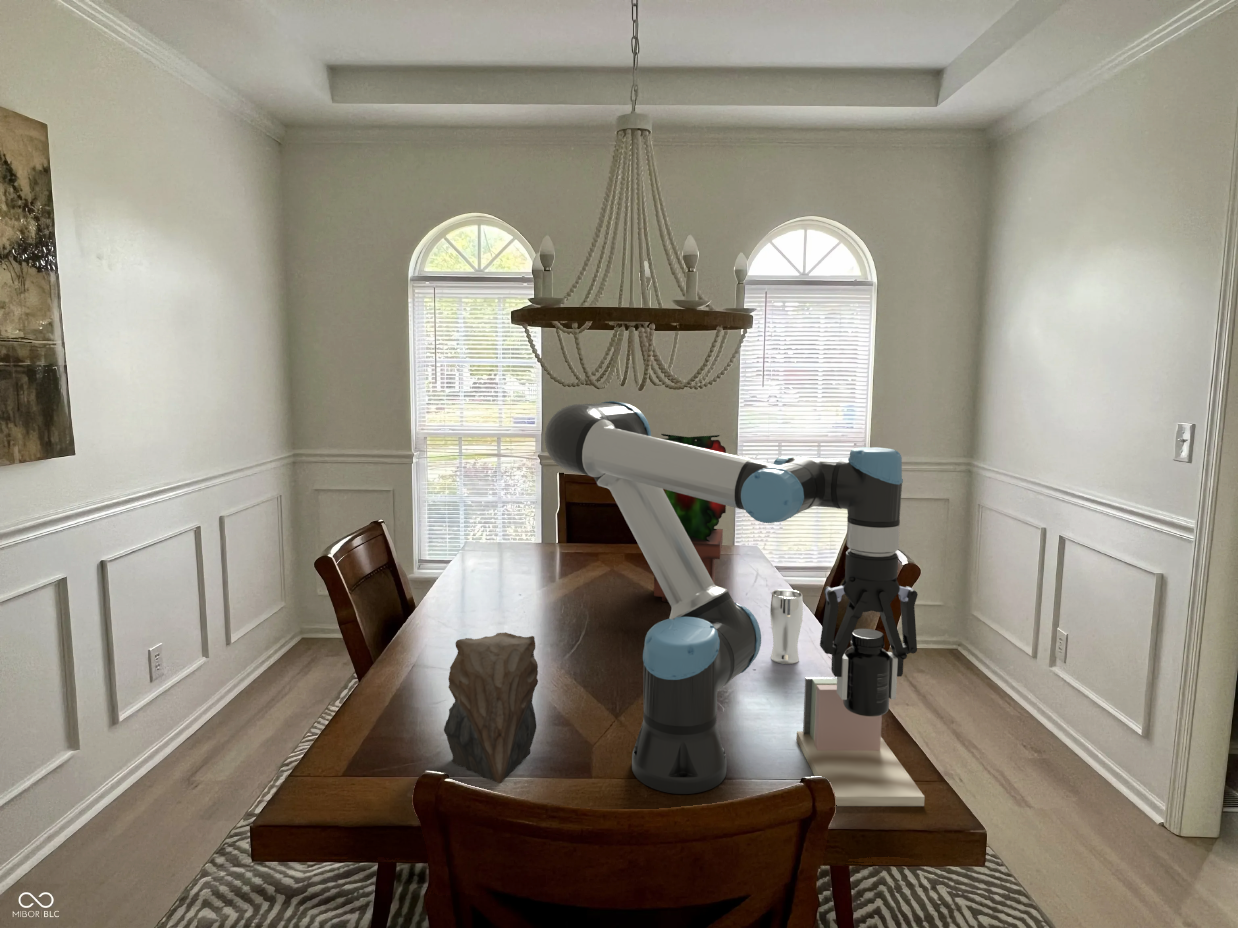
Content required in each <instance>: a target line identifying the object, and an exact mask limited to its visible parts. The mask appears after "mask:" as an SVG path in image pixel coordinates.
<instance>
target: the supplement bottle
mask: <svg viewBox="0 0 1238 928" xmlns="http://www.w3.org/2000/svg"><path fill="white" fill-rule="evenodd" d="M884 648H885V634H884V633H883V632H881V631H879V630H876V629H871V628H855V629H854V631H853V634H852V636H851V638H850V646H849V647H847V648H846V650H845V653H844V654H845V655H846V657H847V658H848V681H847V700H843V704H844V706H845V707H846V709H847V710H849V711H850V712H852V713H855V714H858V715H862V716H880V715H882V716H883V715H885V714H887V712H888V711H889V709H890V698H889V694H890V656H889V654H888V653H887V652H888V651H886V649H884Z"/></svg>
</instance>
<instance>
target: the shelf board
mask: <svg viewBox="0 0 1238 928" xmlns="http://www.w3.org/2000/svg"><path fill="white" fill-rule="evenodd" d="M796 742H797V744H798V746H799V747H800V749H801V752H802V754H803V755H804V757H805V759H806V762H807V764H808V766H809V768H810V770H811V772H812V773H813V776H814V777H815V776H822V777H825V778H827V779H828V780H829V782H831V784H832V787H833V790H834V792H835V796H836V805H837V806H836V807H925V800H926V799H925V797H926V796H925V794H923V793H922V790H920V788H919V787H918V785H917V784H916V782H915V781H914V780H913V779H912V777H911V775H910V774H909V773H908V772H907V771H906V769H905V767H904V766H903V765H902V763H901V762H900V761H899V760H898V758H897V757H896V756H895V754H894V753H893V751H892V750H891V749H890V747H889V746H888V745H887V743H886V742H885V740H884V738H883V737H882V736H881V743H880V750H817V749H816V747H815V745H814V742H815V741H814V740H813V739H812V737H811V736H810V735H804V733H803V730H802V731H800V730H799V731H796Z"/></svg>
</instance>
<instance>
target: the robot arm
mask: <svg viewBox="0 0 1238 928" xmlns="http://www.w3.org/2000/svg"><path fill="white" fill-rule="evenodd" d="M544 431H545V432H544V444H545V445H544V446H545V449H546V451H547V454H548V456H549V457H550V459H551V460H552V462H554V463H555V464H556V465H557V466H558V467H560V468H561V469H564V470H566V471H569V472H572V473H576V474H577V473H578V474H580V475H584V476H588V477H592V478H593V479H594V481H595V482H596V485H597V486H598V487H602V488H604V489H605V488H606V489H608V490H609V491H610V493H611V495H612V497H613V498H614V500H615V503H616V505H617V506H618V508H619V510H620V512H621V514H622V516H623V518H624V520H625V522H626V524H627V526H628V527H629V529H630V531H631V533H632V535H633V537H634V539H635V540H636V542H637V545H638V547H639V549H640V550H641V552H642V554H643V556H644V558H645V560H646V561H647V564H648V566H649V567H650V569H651V572H653V576H654V575H655V577H656V579H657V581H658V583H659V584H660V586H661V588H662V590H663V592H664V594H665V596H666V598H667V600H668V603H669V606H670V607H671V608H670V609H671V611H670V615H669V618H667V619H663V620H662V621H658V622H657V623H655V624H654V625H653V626H652V627H650V628H649V630H648V631H647V632H646V635H645V637H644V647H643V651H642V661H643V721H642V723H641V726H640V729H639V732H638V735H637V738H636V742H635V745H634V746H633V747H634V748H633V750H632V753H631V770H632V772H633V775H634V776H635V778H636V779H637V780H638V781H639V782H640V783H642V784H643V785H645V786H647V787H648V788H651V789H653V790H657V791H659V792H662V793H668V794H676V795H689V794H690V795H691V794H697V793H703V792H706V791H710V790H712V789H713V788H716V787H717V786H718V785H720V784H722V782H723V781H724V780H725V777H726V776H727V767H728V766H727V765H728V764H727V762H728V761H727V760H728V759H727V754H726V752H725V749H724V748H723V745H722V740H721V736H720V732H719V729H718V726H717V718H718V717H717V715H718V714H717V713H718V712H717V711H718V692H719V690H721V688H723V687H724V686H726V685H727V684H728V683H729V682H730V681H732V680H733V679H735V677H737V676H738V675H740V674H743V673H744V672H746V670H747V669H748V668H749V667H750V666H751V664H752V663H753V662H754V661H755V660H756V658H757V657H758V655H759V653H760V650H761V645H762V630H761V627H760V624H759V622H758V619H757V618H756V616H755V615H754V614H753V613H752V611H751V610H750V609H749V608H747V607H746V606H743V605H741V604H740V603H738V602H735V600H734V599H733V597H732V596H731V593H730V592H729V591H728V589H727V588H724V587H720V586H718V585H716V584H715V582H714V583H713V581H712V579H711V577H710V575H709V573H708V572H707V570H706V568H705V566H704V564H703V562H702V560H701V559H700V557H699V555H698V553H697V551H696V549H695V548H694V546H693V544H692V542H691V540H690V538H689V537H688V535H687V533H686V531H685V529H684V527H683V525H682V524H681V522H680V520H679V518H678V516H677V514H676V513H675V511H674V509H673V507H672V505H671V503H670V501H669V500H668V498H667V496H666V494H665V492H664V490H663V489H666V490H670V491H673V492H677V493H681V494H685V495H689V496H693V497H696V498H700V499H704V500H708V501H712V502H715V503H719V504H723V505H726V507H730V508H735V509H739V510H742V511H745V512H746V514H748V515H749V517H751V518H752V519H753V520H755V521H757V522H760V523H763V524H773V523H781V522H784V521H787V520H788V519H791V518H793V517H794V516H796V515H798V514H799V513H802V512H805V511H807V510H809V509H812V508H813V507H816V508H817V507H819V508H832V509H838V510H839V509H840V510H843V509H845V510H847V518H846V520H847V523H846V525H847V526H846V527H847V528H846V546H847V548H848V549H847V551H846V552H845V573H844V580H843V582H842V584H841V585H839V586H835V587H831V586H826V587H824V589H823V592H824V593H823V594H824V597H825V607H824V614H823V621H822V627H821V635H820V641H819V646H820V648H821V649H822V650H823V652H824V653H825V654H827V655H831V673H832V674H833V677H837V693H838V695H839V696H840V698H841V699H842V700H847V681H848V658H847V657H846V655H845V654H844V653H845V651H846V650H847V649H848V645H849V643H850V642H851V636H852V634H853V631H854V630H856V626H857V623H858V621H859V619H861V617H862V615H863V613H869V612H876V613H879V615H880V618H881V622H882V625H883V627H884V631H885V632H886V633H885V634H886V636H887V640H888V641H889V642H888V643H889V644H890V645H889V646H890V649H891V651H892V652H891V651H886V652H887V653H888V654H889V656H890V694H889V700H897V684H898V683H897V680H898V677H902V676H903V674H904V660H906V659H907V657H908V655H909V654H916V653H917V651H918V644H917V630H916V628H917V627H916V610H915V604H916V602H917V598H918V592H917V591H916V590H915V589H914V588H912V587H911V586H907V585H906V586H901V585H899V582H898V573H899V572H898V569H899V555H898V554H897V552H898V551H899V549H900V529H901V527H900V526H901V525H900V524H901V520H900V519H901V518H900V517H901V507H902V506H901V505H902V492H903V491H902V488H903V482H904V480H903V470H902V469H903V465H902V463H903V462H902V461H903V457H902V454H901V453H900V452H899V451H898V450H895V449H893V448H887V447H867V446H866V447H862V446H861V447H855V448H852V449H851V451H850V453H849V456H848V458H847V459H831V458H830V459H829V458H817V457H806V456H805V457H804V456H801V455H795V456H780V457H777V458H776V459H775V460H774V461H773V463H769V462H765V461H762V460H761V461H760V460H755V459H752V458H748V457H743V456H739V455H734V454H729V453H727V452H726V453H722V452H717V451H713V450H708V449H704V448H699V447H695V446H691V445H686V444H682V443H677V442H673V441H668V440H664V438H658V437H655V436H652V430H651V427H650V424H649V421H648V419H647V418H646V417H645V414H644V413H643V412H641V411H640V409H638V408H637V407H635V406H633V405H631V404H629V403H627V402H620V401H614V400H612V401H611V400H609V401H602V402H601V403H600V402H598V403H597V402H596V403H579V404H577V403H576V404H571V405H568V406H565V407H563V408H561V409H559V410H558V411H556V413H554V414H553V415H552V416H551V418H550V419H549V421H548V423H547V425H546V427H545V430H544ZM844 595H845V596H846V598H847V600H848V603H847V605H846V610H845V614H844V616H843V618H842V621H841V624H840V626H839V628H838V630H837V633H836V627H837V626H836V625H837V620H838V613H839V603H840V602H841V601H842V596H844ZM897 595H898V599H899V600H900V613H901V614H900V616H901V618H900V619H901V628H902V629H901V631H902V639H901V636H900V634H899V629H898V627H897V625H896V621H895V618H894V612H893V610H892V607H891V603H892V602H893V601H894V599H895V598H896V596H897ZM835 633H836V636H835Z"/></svg>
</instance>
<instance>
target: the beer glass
mask: <svg viewBox="0 0 1238 928" xmlns="http://www.w3.org/2000/svg"><path fill="white" fill-rule="evenodd" d="M803 602H804V601H803V593H802V592H800V591H798V590H796V589H795V590H793V589H787V588H786V589H782V588H780V589H774V590H773V591H771V600H770V610H769V613H770V615H769V617H770V625H771V633H772V641H773V642H772V643H773V644H772V645H773V646H772V650H771V654H770V658H771V660H772V661H773V662H775V663H777V664H781V665H794V664H797V663H799V661H800V657H799V651H798V644H799V643H798V642H799V637H800V633H801V629H802V623H803V615H804V611H803V610H804V606H803V605H804V603H803Z"/></svg>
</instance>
